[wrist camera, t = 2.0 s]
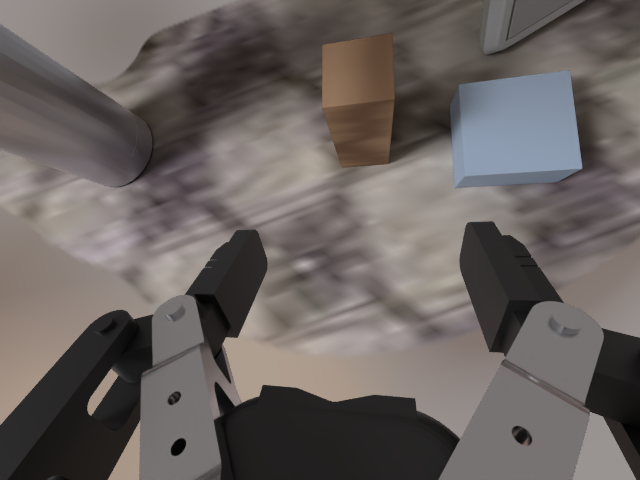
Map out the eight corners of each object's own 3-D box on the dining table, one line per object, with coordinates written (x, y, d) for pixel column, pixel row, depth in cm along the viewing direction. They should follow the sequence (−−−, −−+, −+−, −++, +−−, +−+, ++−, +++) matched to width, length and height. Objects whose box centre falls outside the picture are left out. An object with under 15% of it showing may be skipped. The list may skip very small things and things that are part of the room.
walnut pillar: (341, 167, 27) (322, 107, 18) (341, 125, 28) (322, 44, 18) (388, 164, 27) (394, 99, 17) (387, 120, 27) (392, 32, 17)
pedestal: (454, 187, 25) (465, 176, 22) (449, 105, 26) (458, 84, 23) (556, 182, 23) (582, 168, 20) (546, 94, 24) (569, 70, 21)
